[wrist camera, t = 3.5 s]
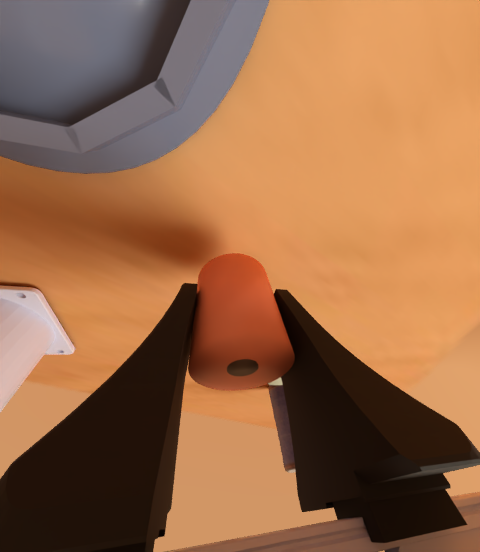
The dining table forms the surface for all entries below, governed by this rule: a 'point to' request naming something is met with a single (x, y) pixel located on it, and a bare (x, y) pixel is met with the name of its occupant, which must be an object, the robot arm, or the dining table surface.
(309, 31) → the dining table surface
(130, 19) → the round tray
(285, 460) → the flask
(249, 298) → the vermilion bead
